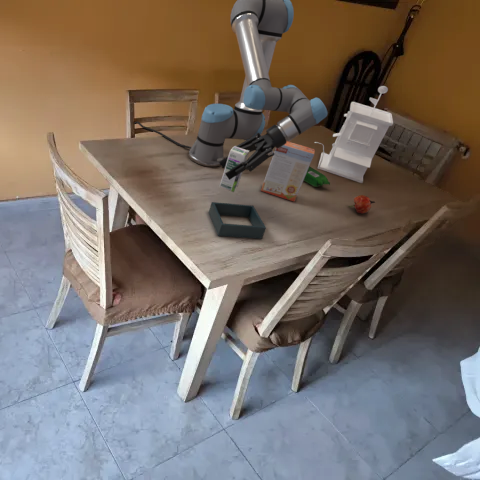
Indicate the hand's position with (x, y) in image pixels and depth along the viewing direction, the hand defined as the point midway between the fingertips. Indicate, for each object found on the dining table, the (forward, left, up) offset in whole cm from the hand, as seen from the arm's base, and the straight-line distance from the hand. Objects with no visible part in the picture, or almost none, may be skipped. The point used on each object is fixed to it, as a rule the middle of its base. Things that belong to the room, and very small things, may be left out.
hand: (224, 170), depth 151 cm
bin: (+10, -11, -13) cm, 20 cm away
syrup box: (+3, +2, -6) cm, 7 cm away
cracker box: (+20, +24, -13) cm, 34 cm away
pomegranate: (+52, +33, -13) cm, 63 cm away
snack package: (+31, +46, -13) cm, 57 cm away
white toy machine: (+41, +74, -13) cm, 86 cm away
